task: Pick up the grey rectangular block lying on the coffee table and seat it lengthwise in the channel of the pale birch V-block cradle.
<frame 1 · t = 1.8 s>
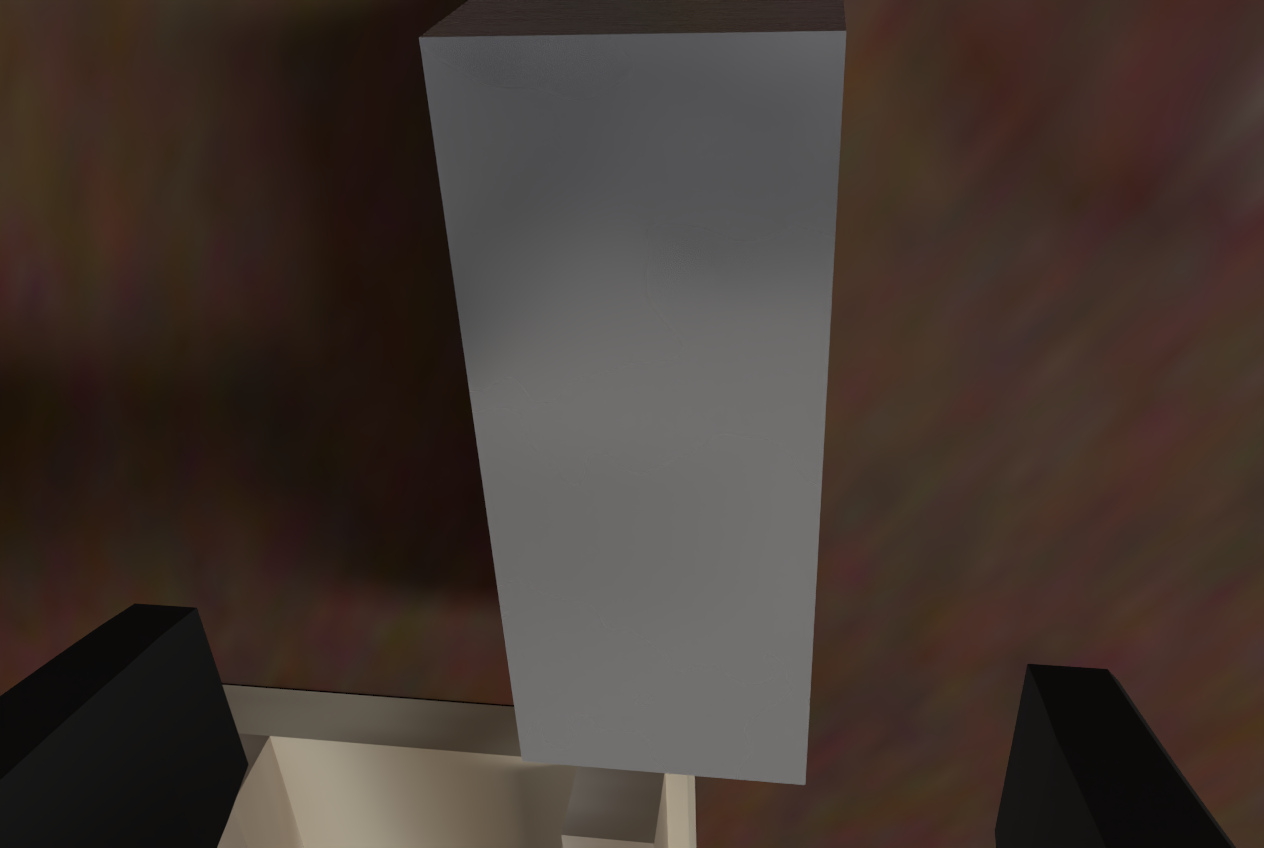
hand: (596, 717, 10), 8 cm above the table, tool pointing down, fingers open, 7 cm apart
grey rectangular block: (686, 309, 17), on the table
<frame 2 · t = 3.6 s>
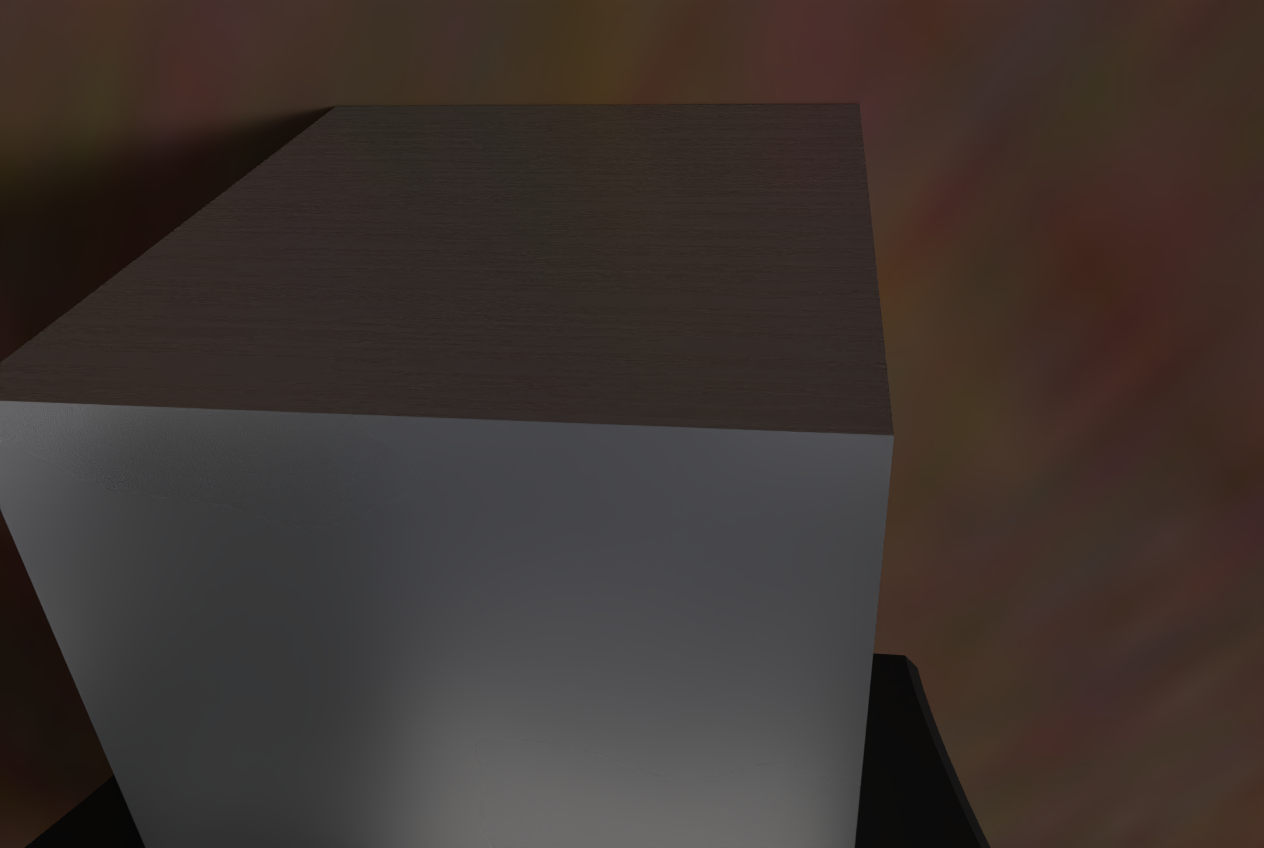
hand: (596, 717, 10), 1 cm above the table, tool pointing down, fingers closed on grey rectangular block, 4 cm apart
grey rectangular block: (621, 610, 11), on the table, touching gripper
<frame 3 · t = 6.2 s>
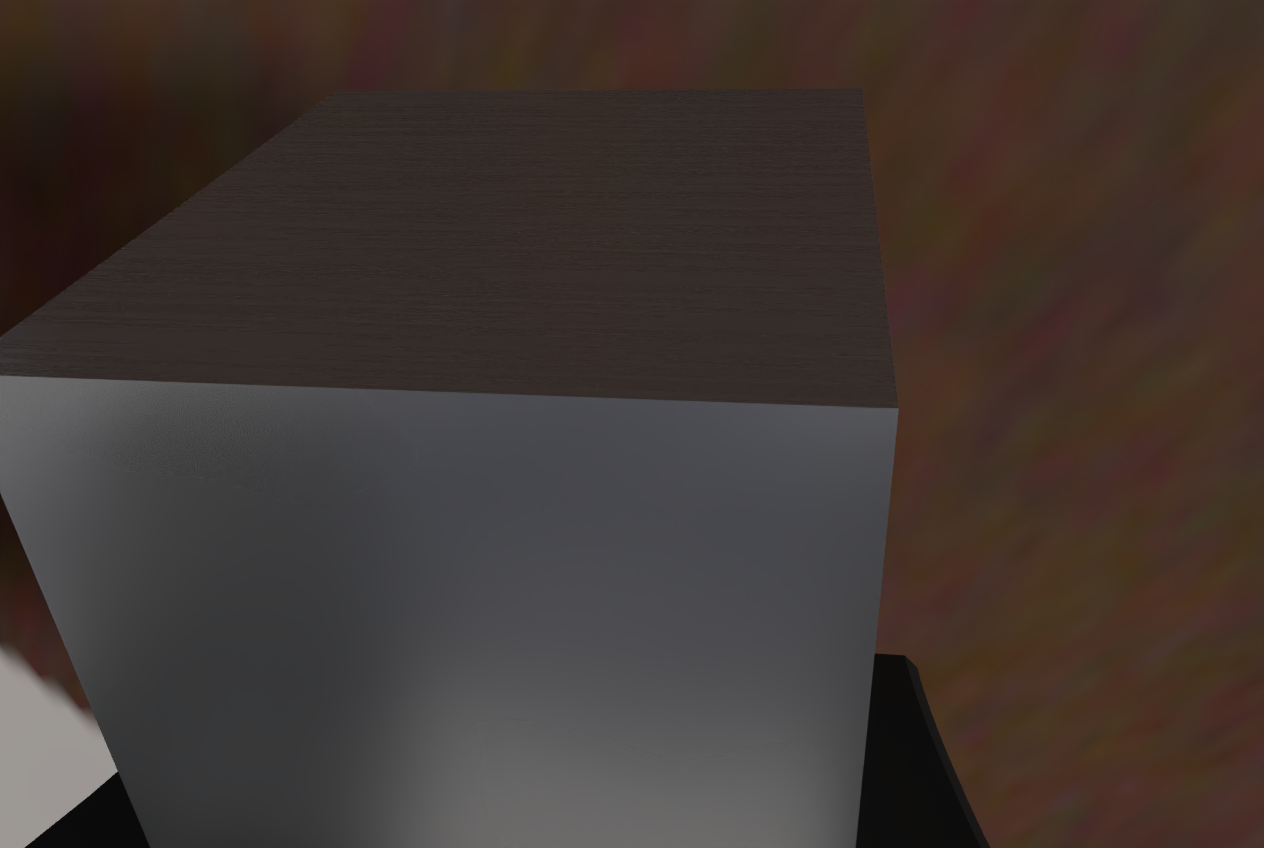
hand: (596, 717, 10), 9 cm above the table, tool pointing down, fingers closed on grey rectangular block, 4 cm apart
grey rectangular block: (621, 600, 11), point 7 cm above the table, touching gripper
when the fingers open (4 cm above the table, at t = 8.8 s): grey rectangular block stays where it is, resting on cradle.
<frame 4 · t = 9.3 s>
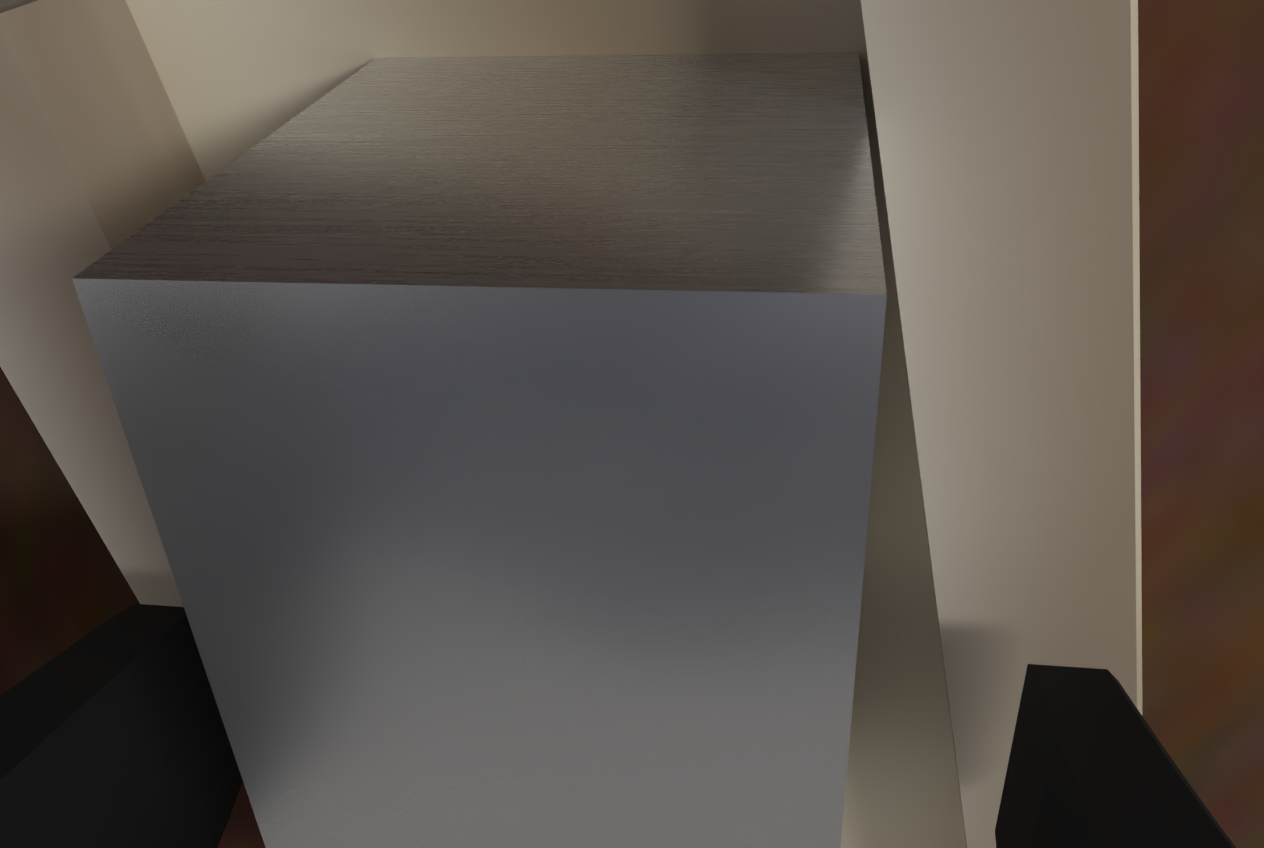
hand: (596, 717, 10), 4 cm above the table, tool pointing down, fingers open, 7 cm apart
grey rectangular block: (636, 540, 12), point 1 cm above the table, touching cradle
cradle: (650, 484, 13), on the table
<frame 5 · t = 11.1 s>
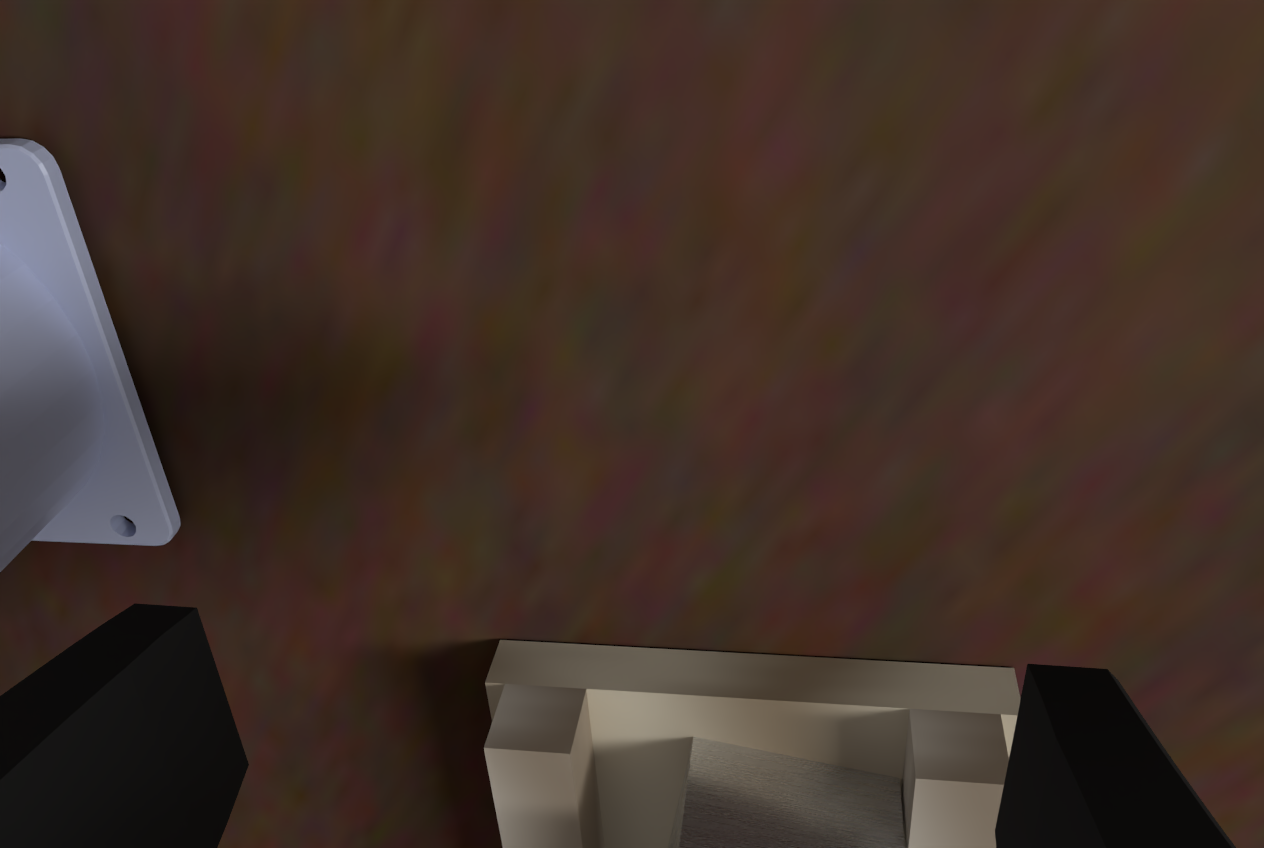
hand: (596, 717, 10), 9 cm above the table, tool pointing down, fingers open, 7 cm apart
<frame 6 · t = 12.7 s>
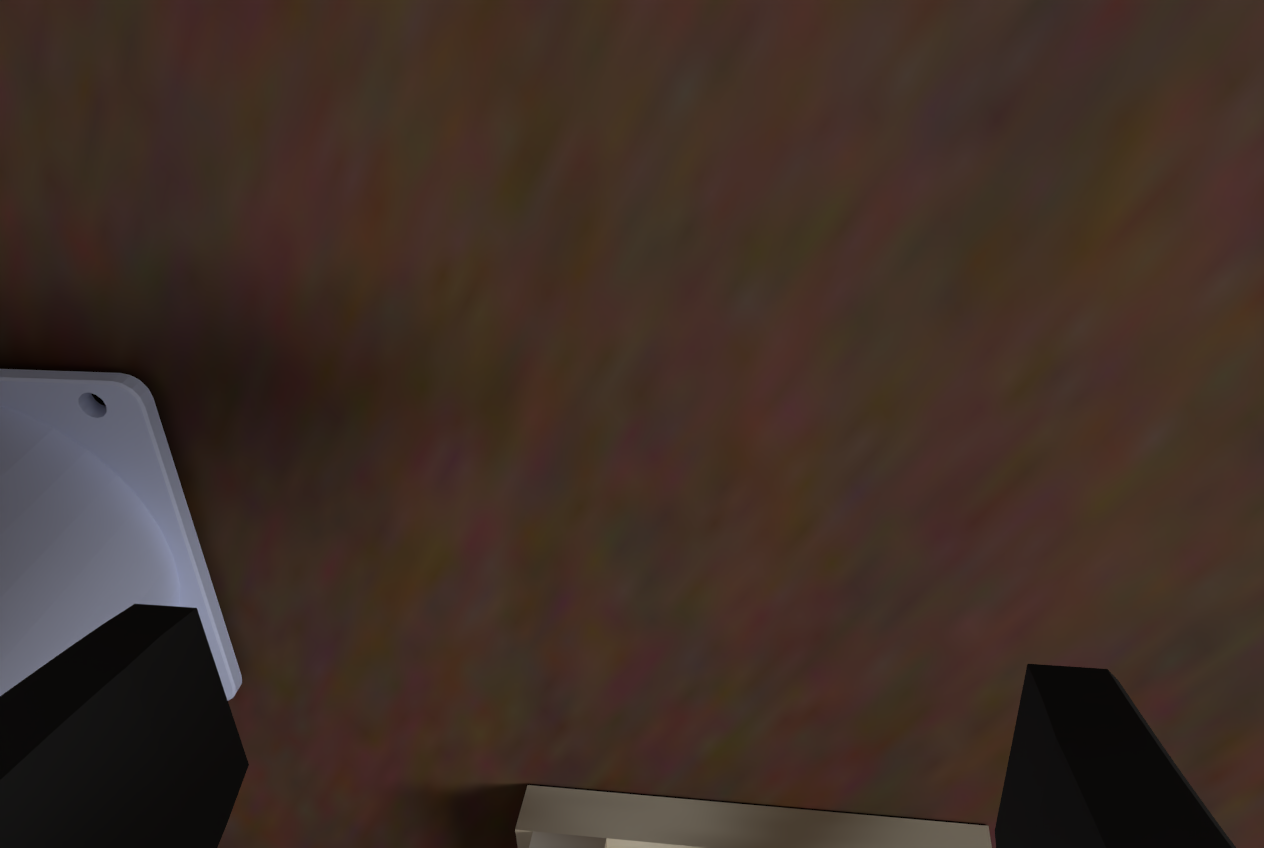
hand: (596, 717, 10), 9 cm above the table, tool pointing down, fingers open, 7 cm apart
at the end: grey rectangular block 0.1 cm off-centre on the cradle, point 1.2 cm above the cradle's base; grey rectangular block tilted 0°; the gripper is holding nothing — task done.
